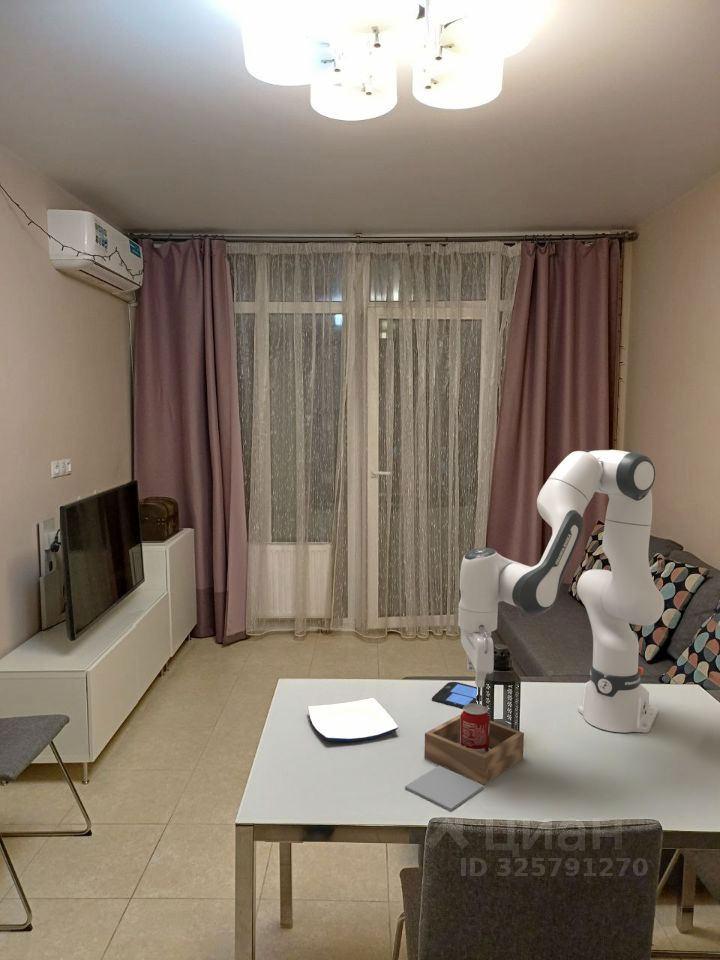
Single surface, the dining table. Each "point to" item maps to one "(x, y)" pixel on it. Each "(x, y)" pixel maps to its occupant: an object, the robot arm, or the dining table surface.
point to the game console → (456, 695)
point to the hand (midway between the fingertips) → (475, 678)
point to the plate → (351, 720)
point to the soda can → (475, 727)
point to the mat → (444, 788)
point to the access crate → (471, 762)
